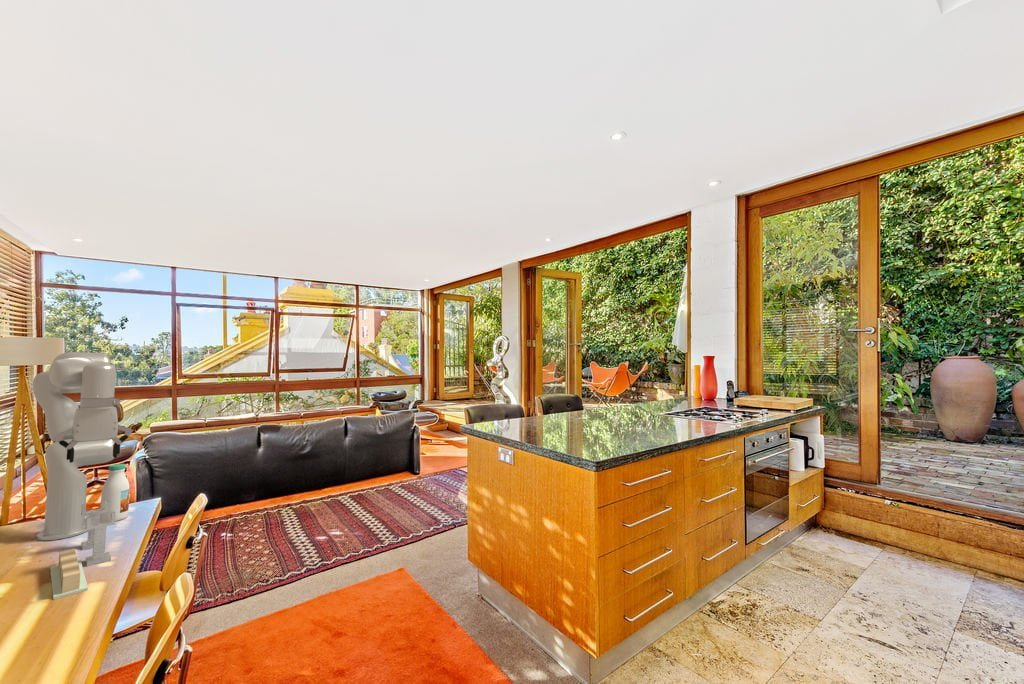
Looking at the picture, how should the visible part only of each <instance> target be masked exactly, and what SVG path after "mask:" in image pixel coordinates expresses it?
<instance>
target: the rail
mask: <svg viewBox="0 0 1024 684" xmlns="http://www.w3.org/2000/svg"><path fill="white" fill-rule="evenodd" d="M78 561H79V560H78V557H77V553H76V549H75V547H72V548H68V549H64V550H59V552H58V567H59V574H60V581H61V588H62V594H63V593H66V592H70V591H74V590H78V589H79V587H80V569H79V565H78Z"/></svg>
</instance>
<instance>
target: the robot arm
mask: <svg viewBox="0 0 1024 684" xmlns="http://www.w3.org/2000/svg"><path fill="white" fill-rule="evenodd" d="M116 370H117V369H116V366H115V365H113V364H111V360H110V358H109V356H108V355H107V354H105V353H103V352H87V351H86V352H82V351H81V352H79V351H70V352H69V351H68V352H67V351H66V352H63V353H60V354H58V355H57V356H55V358H54V359H53V360H52V363H51V365H50V366H49V370H46V371H42V372H39V373H37V374H36V375H35V376H34V377H33V381H32V392H33V395H34V398H35V400H36V402H37V403H38V404H39V406H40V407H41V408H42V410H43V412H44V415H45V422H46V428H47V434H48V437H49V438H50V440H51V441H53V443H51V444H49V445H48V447H46V450H45V464H46V471H47V485H46V500H45V511H44V512H45V513H44V524H43V525H44V528H43V530H41V531H40V532H39V533H38V534H36V540H39V541H55V540H61V539H67V538H71V537H75V536H79V535H81V534H84V533H87V532H88V530H86V516H84V517H82V516H81V509H82V504H86V503H87V490H88V489H87V488H88V477H87V476H86V474H85V473H84V472H82V471H81V470H79V468H80V467H83V466H91V465H97V464H105V463H108V462H111V461H112V460H114V459H116V458H117V457H118V455H120V453H121V445H122V443H124V442H125V441H126V440H127V439H129V436H131V434H132V433H133V431H134V430H133V429H131V428H130V427H126V426H124V425H123V426H122V425H120V424H119V421H118V420H119V418H118V409H117V407H116V406H115V405H117V404H120V403H121V399H117V398H115V389H116V388H115V387H116V372H117V371H116ZM78 393H79V394H80V405H78V404H77V402H76V401H74V400H73V399H71V398H70V397H68V396H66V395H64V394H78ZM119 431H122V432H124V434H123V435H121V437H120V438H118V434H119V433H118V432H119ZM86 505H87V504H86Z"/></svg>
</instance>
